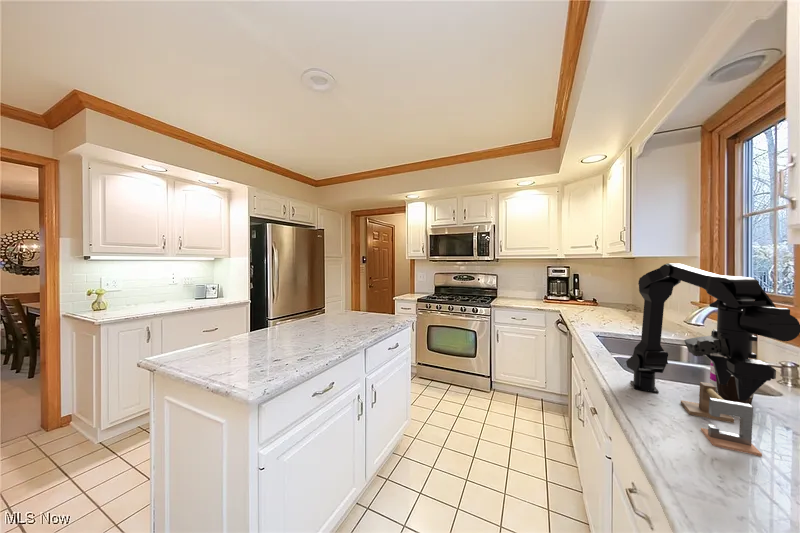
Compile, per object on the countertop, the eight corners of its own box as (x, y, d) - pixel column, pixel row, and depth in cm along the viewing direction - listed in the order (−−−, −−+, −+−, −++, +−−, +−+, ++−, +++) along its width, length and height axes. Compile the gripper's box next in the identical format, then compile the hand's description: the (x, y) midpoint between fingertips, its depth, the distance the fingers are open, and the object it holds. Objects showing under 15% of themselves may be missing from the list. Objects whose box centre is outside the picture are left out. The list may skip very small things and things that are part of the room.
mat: (700, 429, 77) (701, 427, 77) (744, 438, 73) (744, 436, 73) (713, 445, 70) (713, 443, 70) (761, 456, 67) (762, 453, 67)
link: (707, 433, 74) (709, 397, 74) (747, 442, 71) (749, 404, 70) (710, 437, 73) (712, 400, 72) (751, 445, 69) (753, 407, 69)
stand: (680, 403, 90) (681, 376, 90) (721, 410, 86) (722, 382, 85) (703, 431, 76) (705, 399, 75) (754, 442, 71) (755, 408, 71)
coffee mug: (734, 397, 93) (736, 367, 92) (766, 412, 84) (767, 379, 84) (695, 396, 94) (696, 366, 94) (721, 411, 85) (723, 377, 85)
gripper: (676, 318, 82) (674, 372, 83) (705, 334, 66) (703, 401, 67) (732, 322, 77) (730, 379, 78) (779, 340, 61) (775, 413, 61)
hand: (731, 391), depth 71 cm, fingers open, 9 cm apart
